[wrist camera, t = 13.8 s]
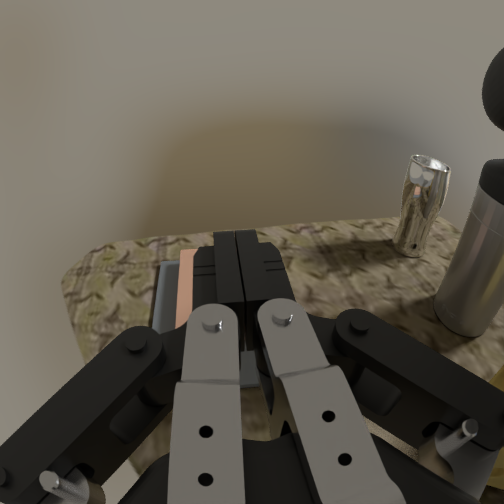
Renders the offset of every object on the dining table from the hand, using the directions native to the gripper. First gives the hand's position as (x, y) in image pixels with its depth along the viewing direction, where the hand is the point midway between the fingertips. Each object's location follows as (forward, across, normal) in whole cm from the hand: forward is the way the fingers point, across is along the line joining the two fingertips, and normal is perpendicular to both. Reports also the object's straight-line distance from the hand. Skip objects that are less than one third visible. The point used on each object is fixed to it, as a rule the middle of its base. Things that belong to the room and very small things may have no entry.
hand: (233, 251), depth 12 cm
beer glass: (+26, -30, +21) cm, 45 cm away
